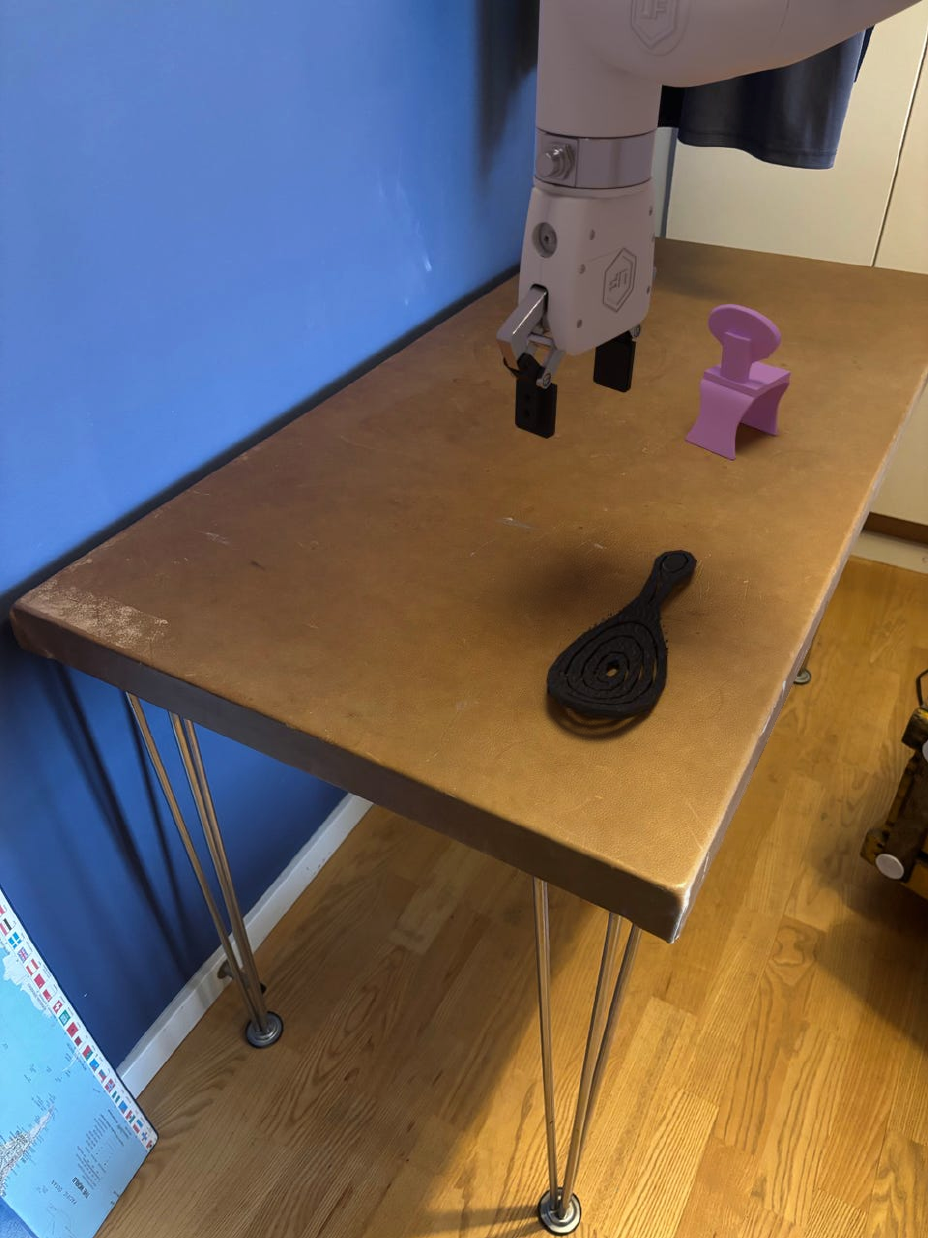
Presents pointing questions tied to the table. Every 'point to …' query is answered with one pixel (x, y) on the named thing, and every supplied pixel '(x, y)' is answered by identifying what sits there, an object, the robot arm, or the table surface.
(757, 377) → the chair
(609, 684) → the hairbrush
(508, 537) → the table surface
